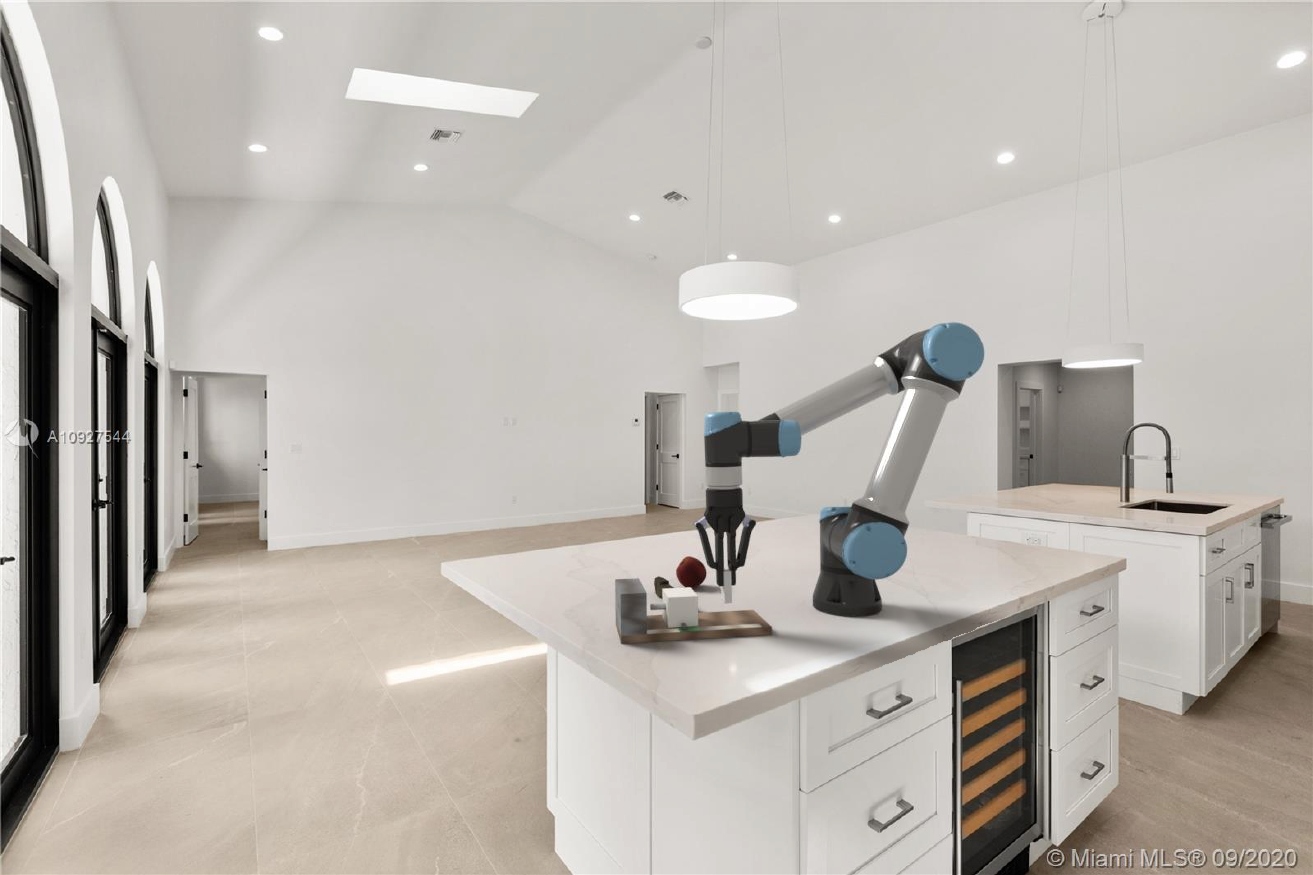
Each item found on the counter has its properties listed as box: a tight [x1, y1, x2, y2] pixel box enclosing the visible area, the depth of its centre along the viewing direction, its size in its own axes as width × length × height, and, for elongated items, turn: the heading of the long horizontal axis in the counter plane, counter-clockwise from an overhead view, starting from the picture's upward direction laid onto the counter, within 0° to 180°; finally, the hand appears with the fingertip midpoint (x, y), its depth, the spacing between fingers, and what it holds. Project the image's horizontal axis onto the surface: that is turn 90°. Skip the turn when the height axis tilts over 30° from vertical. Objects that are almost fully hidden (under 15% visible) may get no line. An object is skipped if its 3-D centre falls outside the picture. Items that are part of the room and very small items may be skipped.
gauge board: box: [614, 577, 773, 645], centre depth 128 cm, size 30×12×10 cm, turn 99°
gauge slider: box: [649, 587, 699, 629], centre depth 126 cm, size 9×10×6 cm
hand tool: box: [653, 575, 675, 599], centre depth 149 cm, size 19×4×5 cm, turn 20°
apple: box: [675, 555, 707, 589], centre depth 161 cm, size 7×8×8 cm
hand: (726, 601), depth 129 cm, fingers closed
